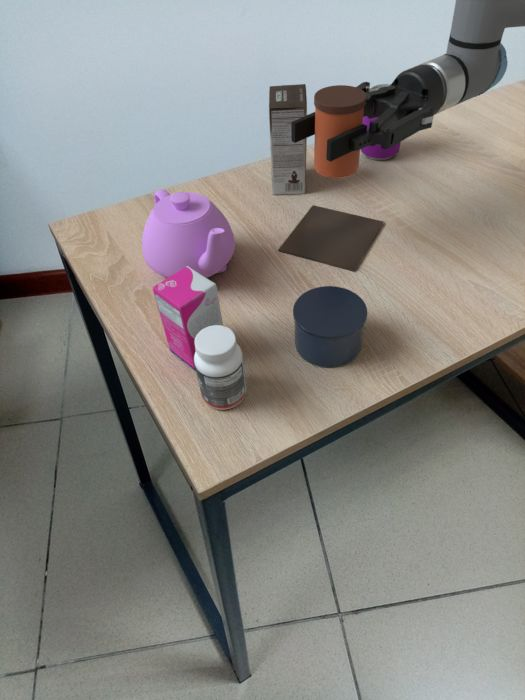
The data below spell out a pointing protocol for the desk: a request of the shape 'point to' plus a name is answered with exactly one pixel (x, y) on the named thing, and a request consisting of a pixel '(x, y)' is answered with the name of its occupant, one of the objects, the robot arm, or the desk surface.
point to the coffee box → (287, 139)
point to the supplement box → (186, 310)
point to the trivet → (332, 237)
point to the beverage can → (376, 150)
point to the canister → (337, 127)
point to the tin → (329, 326)
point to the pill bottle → (219, 367)
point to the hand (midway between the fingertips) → (310, 141)
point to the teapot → (186, 235)
